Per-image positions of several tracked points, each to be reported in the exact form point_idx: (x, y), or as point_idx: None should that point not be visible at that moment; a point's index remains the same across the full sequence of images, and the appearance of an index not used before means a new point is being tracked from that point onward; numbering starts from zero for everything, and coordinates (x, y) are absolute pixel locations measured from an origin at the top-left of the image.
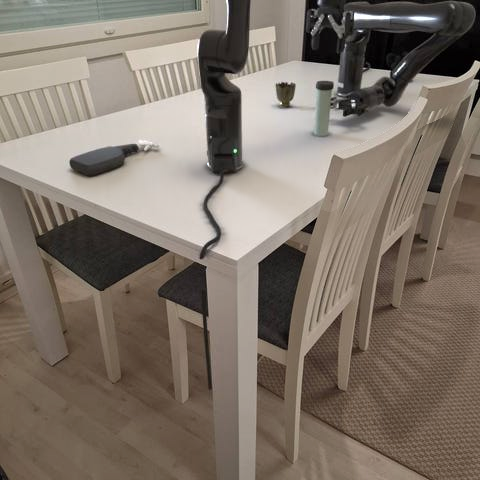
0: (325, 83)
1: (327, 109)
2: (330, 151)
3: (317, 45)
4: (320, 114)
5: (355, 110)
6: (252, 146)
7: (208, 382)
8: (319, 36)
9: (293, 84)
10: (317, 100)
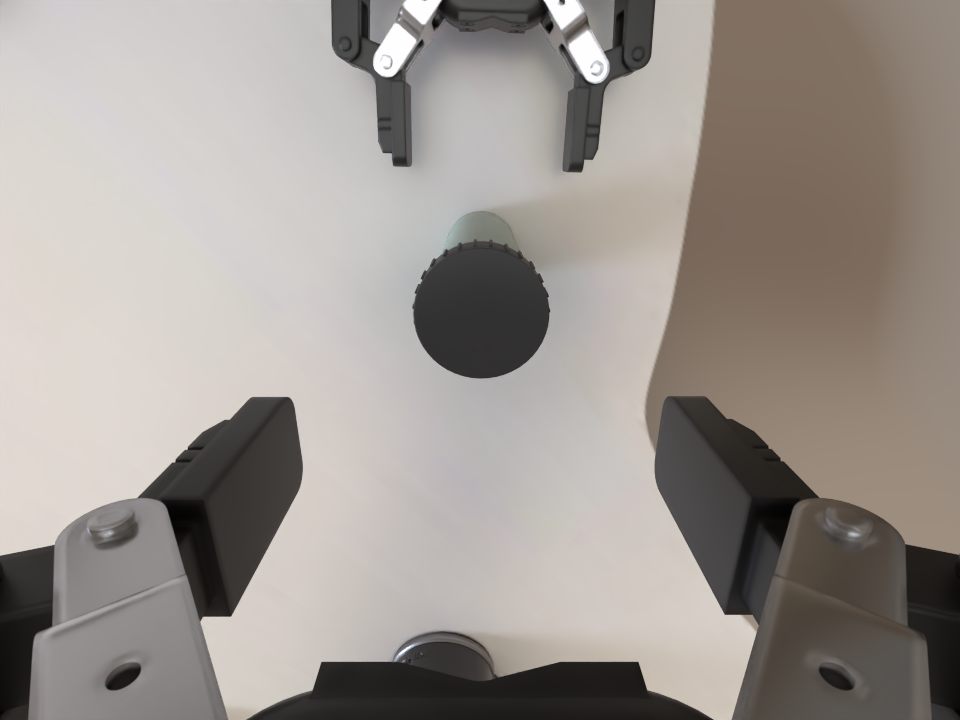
0: (502, 338)
1: None
2: (632, 395)
3: (278, 444)
4: None
5: (611, 79)
6: (376, 528)
7: None
8: (212, 484)
9: None
10: None
